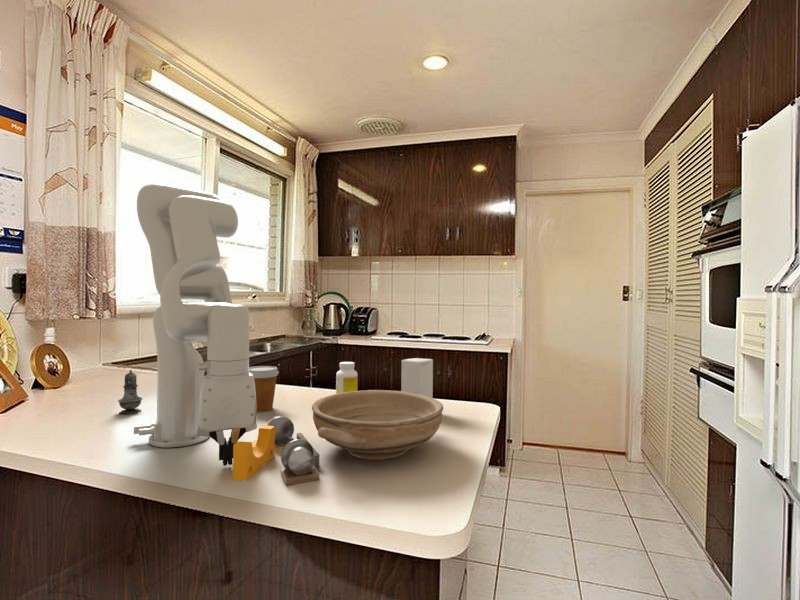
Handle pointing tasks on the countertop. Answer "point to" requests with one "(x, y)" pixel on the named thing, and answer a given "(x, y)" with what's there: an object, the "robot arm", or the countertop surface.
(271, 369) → the disposable coffee cup
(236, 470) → the pipe clamp
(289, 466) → the pipe run
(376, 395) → the ceramic bowl
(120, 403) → the salt shaker
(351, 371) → the supplement bottle
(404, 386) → the skincare box
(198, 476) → the countertop surface
